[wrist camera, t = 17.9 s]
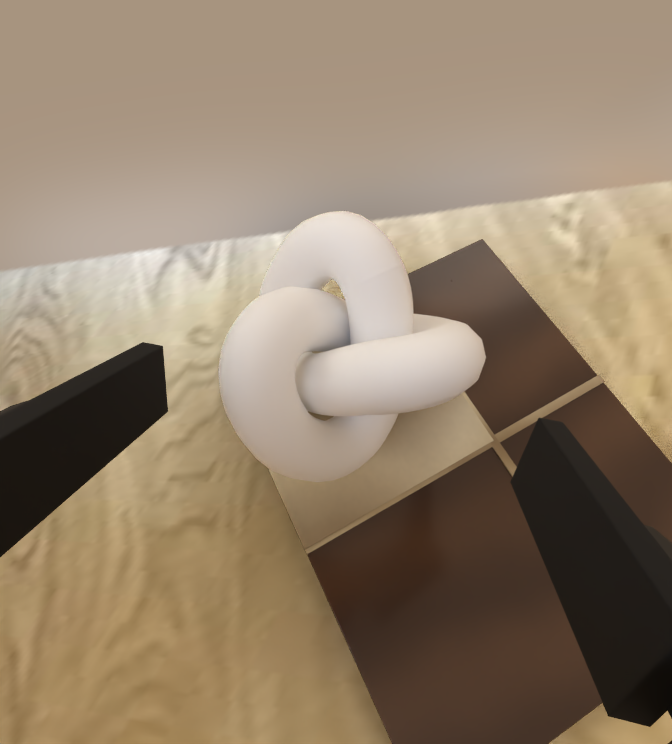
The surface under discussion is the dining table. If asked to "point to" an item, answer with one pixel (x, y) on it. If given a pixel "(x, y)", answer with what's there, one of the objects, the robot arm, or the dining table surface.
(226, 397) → the white knot sculpture
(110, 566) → the dining table surface
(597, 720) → the dining table surface
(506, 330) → the board
